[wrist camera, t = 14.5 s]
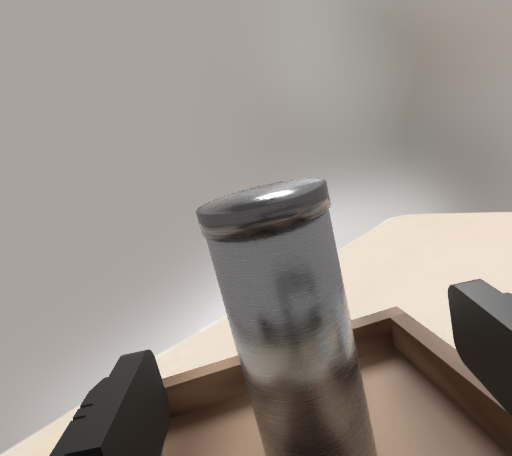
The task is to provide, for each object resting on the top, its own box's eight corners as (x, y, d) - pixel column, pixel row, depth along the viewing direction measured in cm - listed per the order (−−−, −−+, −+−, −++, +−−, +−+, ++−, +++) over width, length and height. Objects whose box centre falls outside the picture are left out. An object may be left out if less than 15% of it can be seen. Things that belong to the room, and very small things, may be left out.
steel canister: (365, 425, 19) (314, 172, 17) (401, 513, 15) (339, 188, 12) (269, 445, 20) (203, 199, 17) (275, 539, 15) (186, 224, 12)
